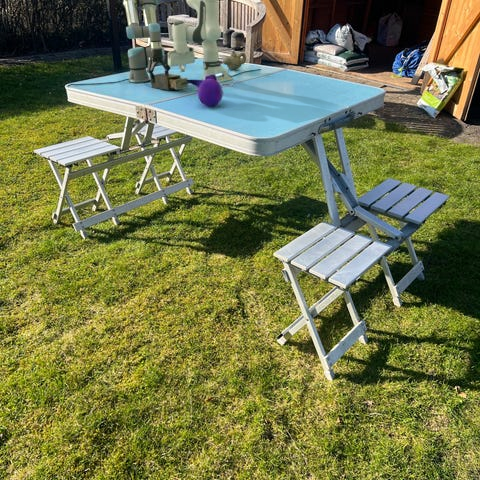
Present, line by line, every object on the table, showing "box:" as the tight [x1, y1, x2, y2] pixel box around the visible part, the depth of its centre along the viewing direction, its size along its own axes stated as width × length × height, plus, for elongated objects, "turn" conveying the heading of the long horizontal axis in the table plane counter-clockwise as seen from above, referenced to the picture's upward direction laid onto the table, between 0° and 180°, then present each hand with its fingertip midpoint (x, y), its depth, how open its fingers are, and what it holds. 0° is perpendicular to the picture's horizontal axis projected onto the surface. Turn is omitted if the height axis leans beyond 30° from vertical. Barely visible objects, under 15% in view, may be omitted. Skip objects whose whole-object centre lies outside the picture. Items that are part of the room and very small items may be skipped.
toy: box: [186, 75, 224, 107], centre depth 270 cm, size 16×18×27 cm
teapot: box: [222, 50, 247, 71], centre depth 368 cm, size 21×12×15 cm, turn 120°
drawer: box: [169, 77, 190, 90], centre depth 307 cm, size 24×10×6 cm, turn 44°
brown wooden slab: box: [150, 72, 182, 91], centre depth 314 cm, size 20×11×8 cm, turn 44°
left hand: (160, 81), depth 319 cm, fingers closed on brown wooden slab, 11 cm apart
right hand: (182, 71), depth 297 cm, fingers closed
